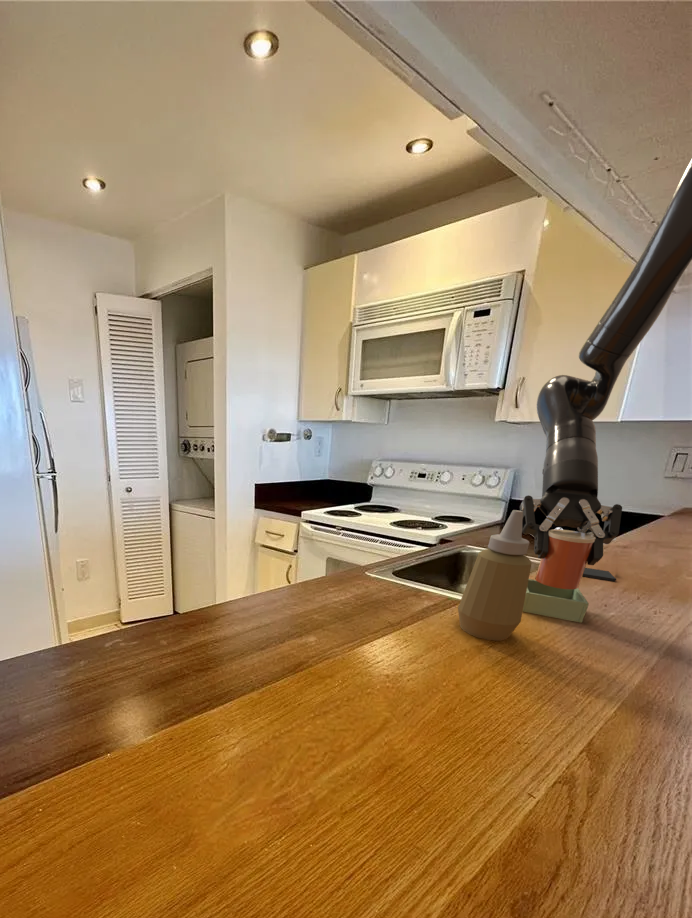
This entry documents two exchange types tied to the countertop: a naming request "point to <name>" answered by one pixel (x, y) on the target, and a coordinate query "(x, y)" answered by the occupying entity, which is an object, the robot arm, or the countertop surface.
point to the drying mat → (598, 574)
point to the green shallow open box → (555, 602)
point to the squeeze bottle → (497, 584)
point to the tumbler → (565, 559)
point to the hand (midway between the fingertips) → (567, 559)
